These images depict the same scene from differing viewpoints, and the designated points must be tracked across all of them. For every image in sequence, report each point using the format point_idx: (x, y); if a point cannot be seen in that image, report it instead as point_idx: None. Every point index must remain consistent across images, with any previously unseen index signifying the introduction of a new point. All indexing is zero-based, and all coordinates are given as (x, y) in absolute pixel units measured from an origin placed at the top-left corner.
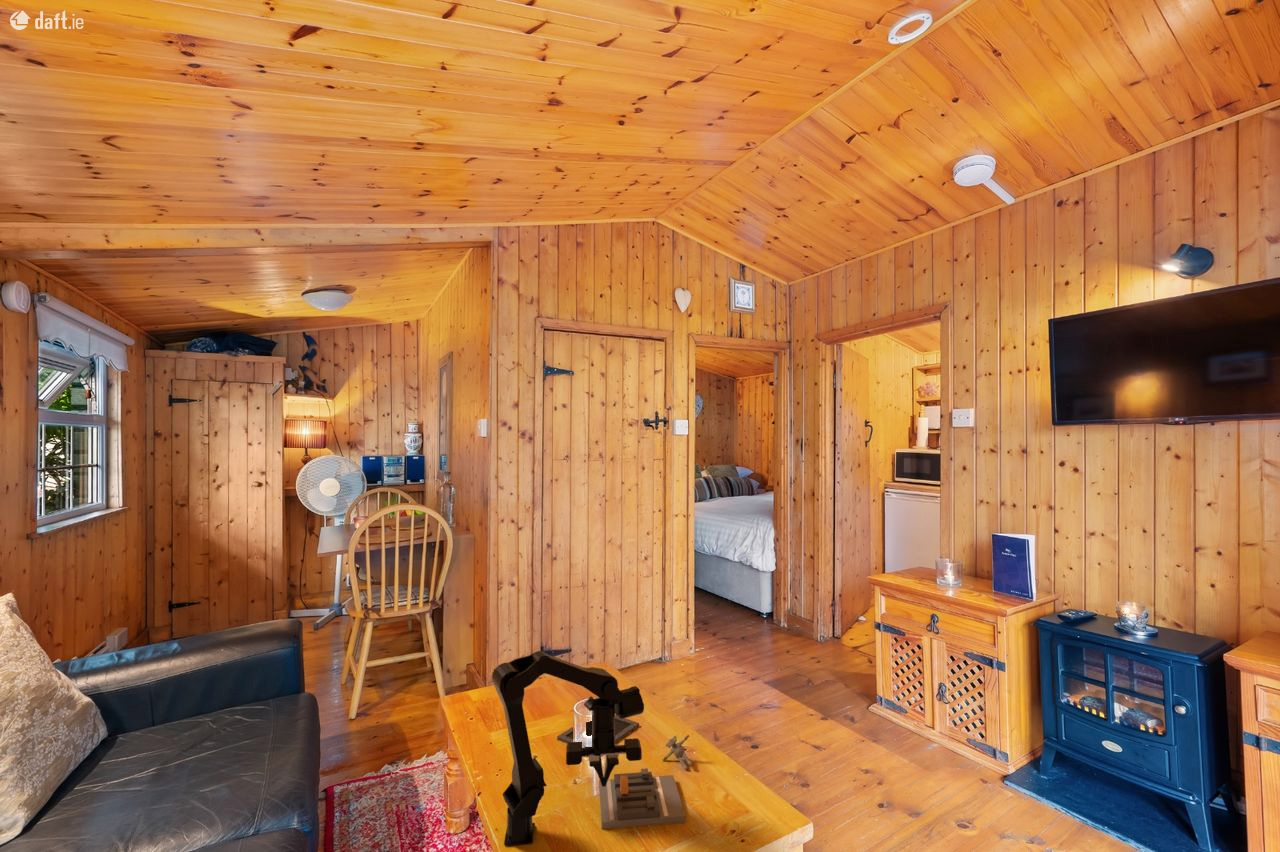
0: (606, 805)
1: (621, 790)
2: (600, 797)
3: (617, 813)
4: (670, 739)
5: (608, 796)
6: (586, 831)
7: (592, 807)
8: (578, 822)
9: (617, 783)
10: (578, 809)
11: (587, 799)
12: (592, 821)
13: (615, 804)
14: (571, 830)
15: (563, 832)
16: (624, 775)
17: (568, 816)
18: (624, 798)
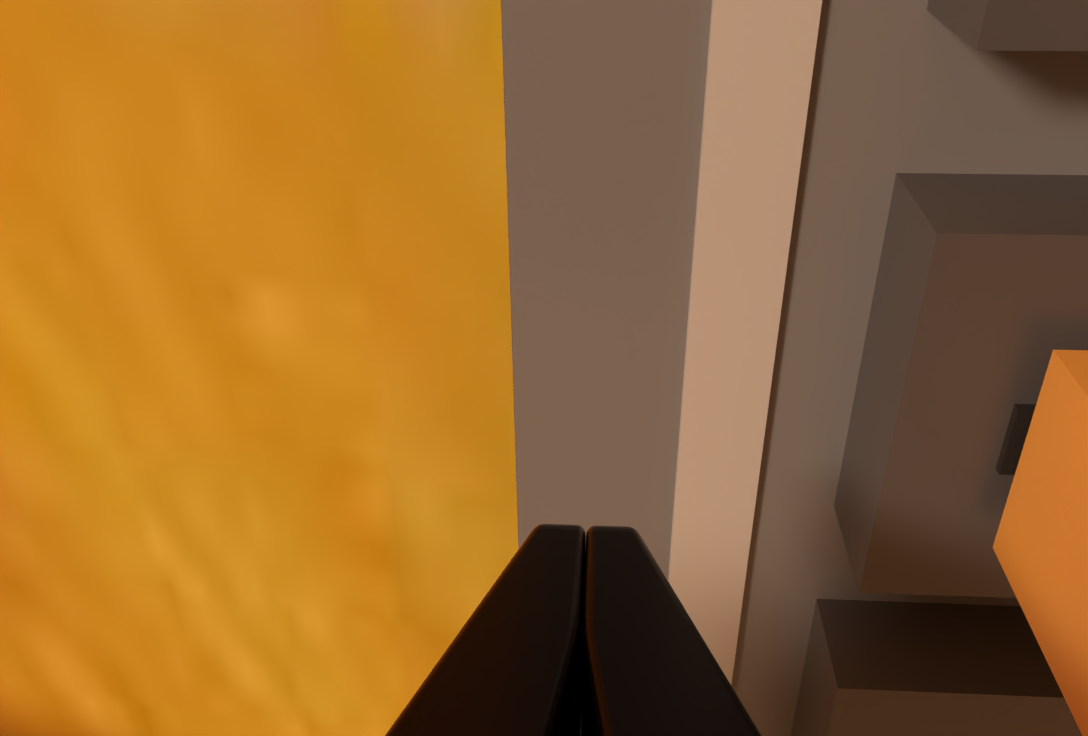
0: (630, 502)
1: (1036, 616)
2: (519, 262)
3: (795, 690)
4: None
5: (704, 271)
6: (335, 725)
7: (375, 297)
8: (195, 581)
9: (1059, 38)
10: (125, 316)
11: (243, 34)
12: (400, 591)
13: (809, 506)
14: (134, 688)
15: (41, 702)
16: None
17: (4, 453)
18: None
